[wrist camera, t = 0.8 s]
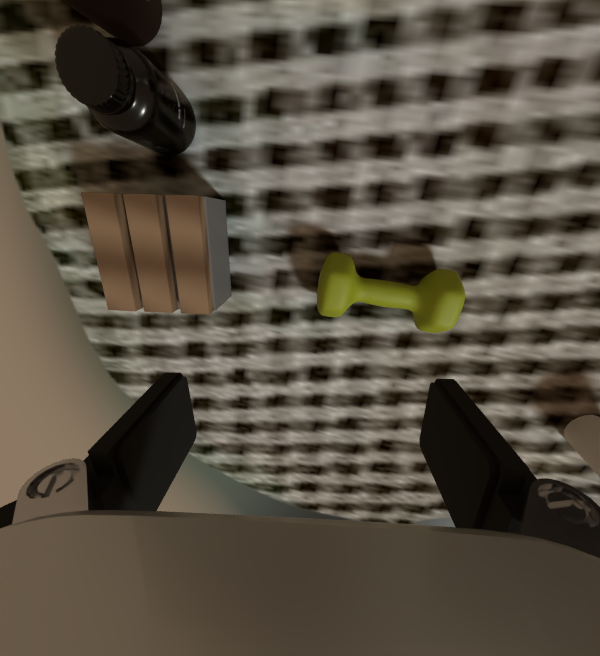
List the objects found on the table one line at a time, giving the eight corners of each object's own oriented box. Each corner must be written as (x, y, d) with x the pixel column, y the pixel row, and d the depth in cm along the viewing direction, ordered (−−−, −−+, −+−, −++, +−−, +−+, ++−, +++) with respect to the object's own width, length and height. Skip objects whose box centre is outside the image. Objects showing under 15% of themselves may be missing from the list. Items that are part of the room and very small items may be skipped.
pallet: (92, 193, 29) (80, 192, 27) (203, 196, 28) (197, 195, 27) (117, 305, 33) (108, 309, 32) (213, 310, 33) (209, 314, 31)
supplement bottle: (210, 122, 31) (151, 68, 20) (173, 170, 33) (102, 145, 22) (161, 66, 30) (68, -24, 19) (126, 120, 32) (23, 67, 21)
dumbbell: (313, 305, 39) (312, 323, 32) (324, 246, 36) (325, 252, 29) (430, 324, 39) (454, 347, 32) (450, 267, 36) (481, 278, 29)
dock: (123, 197, 35) (82, 193, 29) (225, 200, 34) (205, 196, 28) (140, 292, 39) (108, 305, 33) (231, 295, 39) (215, 310, 33)
